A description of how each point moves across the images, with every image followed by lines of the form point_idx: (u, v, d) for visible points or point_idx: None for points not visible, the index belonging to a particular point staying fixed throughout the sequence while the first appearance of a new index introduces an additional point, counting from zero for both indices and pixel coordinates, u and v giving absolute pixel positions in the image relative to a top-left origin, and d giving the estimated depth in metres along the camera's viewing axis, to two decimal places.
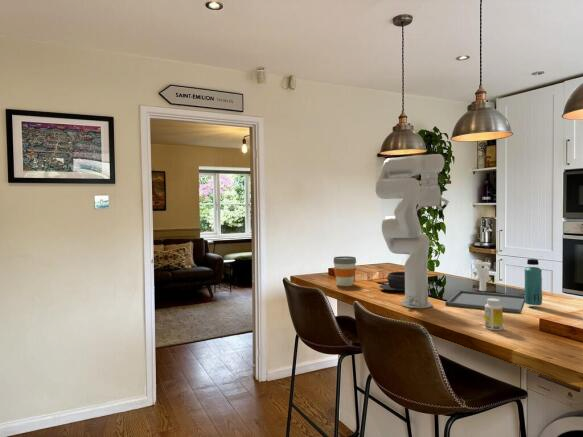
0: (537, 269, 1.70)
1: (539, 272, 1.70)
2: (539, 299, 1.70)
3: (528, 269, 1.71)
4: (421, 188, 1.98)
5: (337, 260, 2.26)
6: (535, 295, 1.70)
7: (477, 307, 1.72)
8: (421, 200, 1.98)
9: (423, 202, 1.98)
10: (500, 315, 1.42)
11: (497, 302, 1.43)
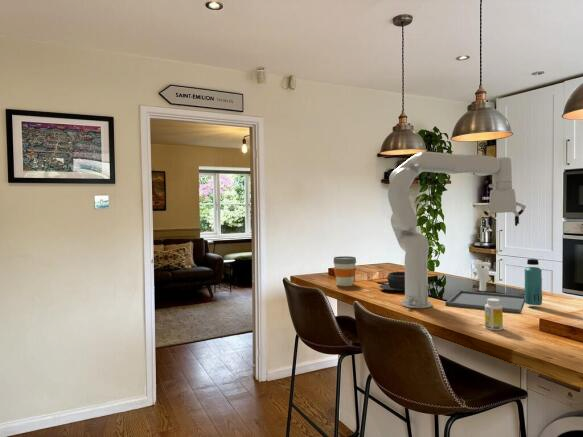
0: (537, 269, 1.70)
1: (539, 272, 1.70)
2: (539, 299, 1.70)
3: (528, 269, 1.71)
4: (493, 192, 1.79)
5: (337, 260, 2.26)
6: (535, 295, 1.70)
7: (477, 307, 1.72)
8: (494, 206, 1.79)
9: (496, 208, 1.78)
10: (500, 315, 1.42)
11: (497, 302, 1.43)
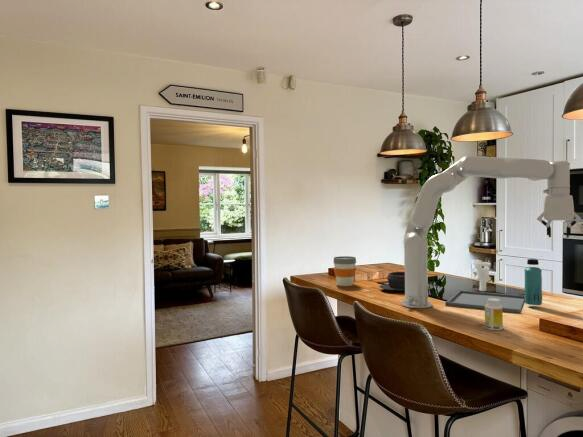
0: (537, 269, 1.70)
1: (539, 272, 1.70)
2: (539, 299, 1.70)
3: (528, 269, 1.71)
4: (549, 198, 1.66)
5: (337, 260, 2.26)
6: (535, 295, 1.70)
7: (477, 307, 1.72)
8: (549, 213, 1.66)
9: (552, 215, 1.66)
10: (500, 315, 1.42)
11: (497, 302, 1.43)
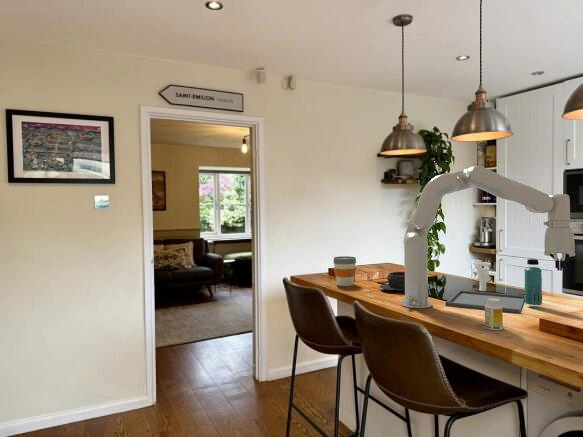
0: (537, 269, 1.70)
1: (539, 272, 1.70)
2: (539, 299, 1.70)
3: (528, 269, 1.71)
4: (549, 231, 1.67)
5: (337, 260, 2.26)
6: (535, 295, 1.70)
7: (477, 307, 1.72)
8: (549, 245, 1.67)
9: (552, 248, 1.66)
10: (500, 315, 1.42)
11: (497, 302, 1.43)
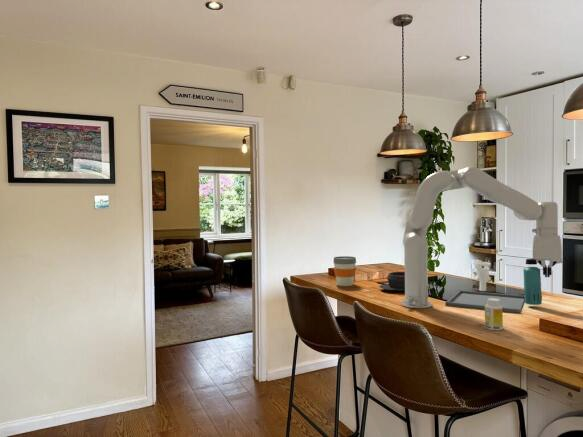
0: (536, 269, 1.70)
1: (538, 272, 1.70)
2: (539, 299, 1.70)
3: (527, 269, 1.72)
4: (537, 238, 1.69)
5: (337, 260, 2.26)
6: (534, 294, 1.70)
7: (477, 307, 1.72)
8: (537, 252, 1.69)
9: (540, 255, 1.68)
10: (500, 315, 1.42)
11: (497, 302, 1.43)
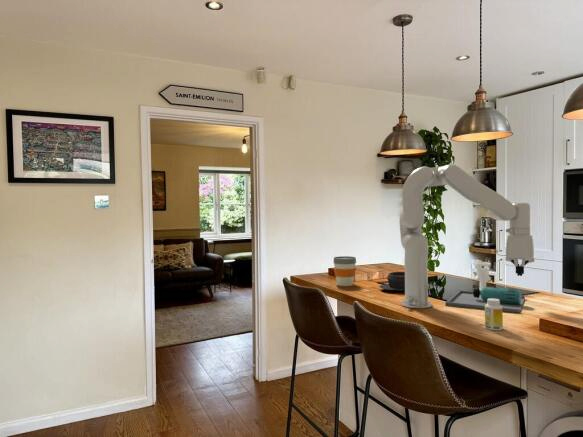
0: (481, 291, 1.82)
1: (484, 290, 1.81)
2: (513, 293, 1.74)
3: (482, 298, 1.82)
4: (510, 238, 1.74)
5: (337, 260, 2.26)
6: (507, 297, 1.75)
7: (477, 307, 1.72)
8: (510, 252, 1.74)
9: (513, 254, 1.74)
10: (500, 315, 1.42)
11: (497, 302, 1.43)
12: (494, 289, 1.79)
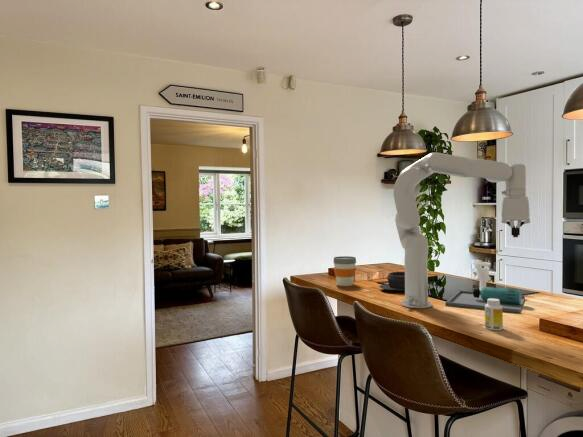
0: (481, 291, 1.82)
1: (484, 290, 1.81)
2: (513, 294, 1.74)
3: (482, 298, 1.82)
4: (506, 199, 1.75)
5: (337, 260, 2.26)
6: (507, 297, 1.75)
7: (477, 307, 1.72)
8: (506, 213, 1.75)
9: (509, 215, 1.74)
10: (500, 315, 1.42)
11: (497, 302, 1.43)
12: (494, 289, 1.79)
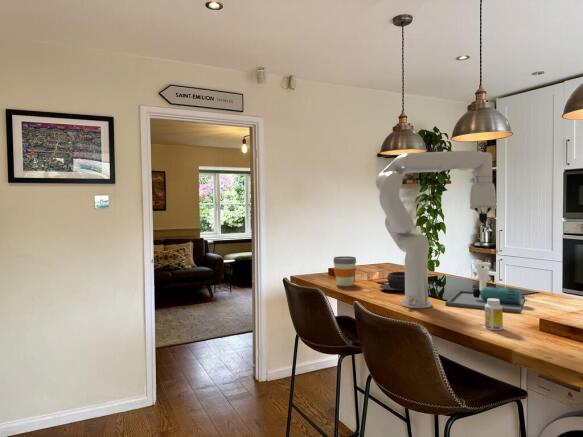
0: (481, 291, 1.82)
1: (484, 290, 1.81)
2: (513, 294, 1.74)
3: (482, 298, 1.82)
4: (474, 187, 1.82)
5: (337, 260, 2.26)
6: (507, 297, 1.75)
7: (477, 307, 1.72)
8: (474, 200, 1.82)
9: (476, 202, 1.82)
10: (500, 315, 1.42)
11: (497, 302, 1.43)
12: (494, 289, 1.79)
